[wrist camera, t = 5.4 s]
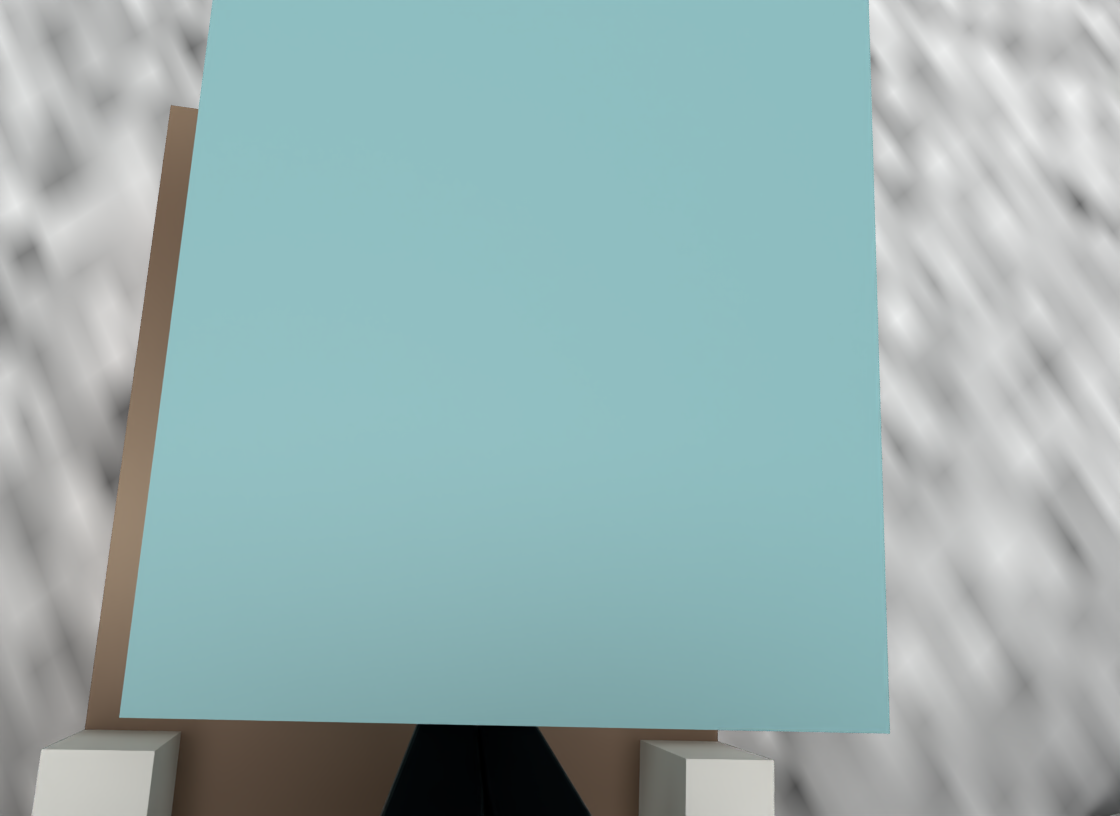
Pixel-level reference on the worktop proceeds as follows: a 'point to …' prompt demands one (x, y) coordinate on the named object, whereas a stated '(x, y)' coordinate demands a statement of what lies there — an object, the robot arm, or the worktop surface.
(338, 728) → the brown tray
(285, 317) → the teal block
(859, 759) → the worktop surface
